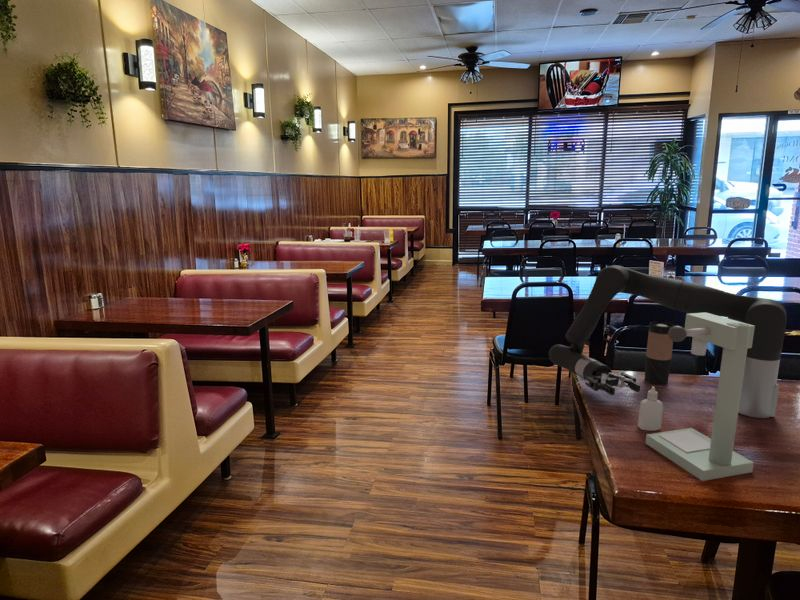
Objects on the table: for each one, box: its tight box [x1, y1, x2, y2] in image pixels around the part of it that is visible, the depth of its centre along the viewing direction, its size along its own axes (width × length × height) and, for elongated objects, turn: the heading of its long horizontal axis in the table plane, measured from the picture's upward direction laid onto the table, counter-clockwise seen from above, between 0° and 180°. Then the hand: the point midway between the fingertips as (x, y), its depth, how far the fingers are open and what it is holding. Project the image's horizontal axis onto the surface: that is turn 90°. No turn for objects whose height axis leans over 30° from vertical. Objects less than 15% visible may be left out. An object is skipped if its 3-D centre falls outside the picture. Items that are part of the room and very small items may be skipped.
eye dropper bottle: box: [637, 386, 664, 432], centre depth 138 cm, size 4×6×12 cm
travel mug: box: [644, 321, 675, 385], centre depth 171 cm, size 8×8×20 cm
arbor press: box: [645, 312, 755, 482], centre depth 120 cm, size 18×20×35 cm
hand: (626, 390), depth 147 cm, fingers open, 8 cm apart
